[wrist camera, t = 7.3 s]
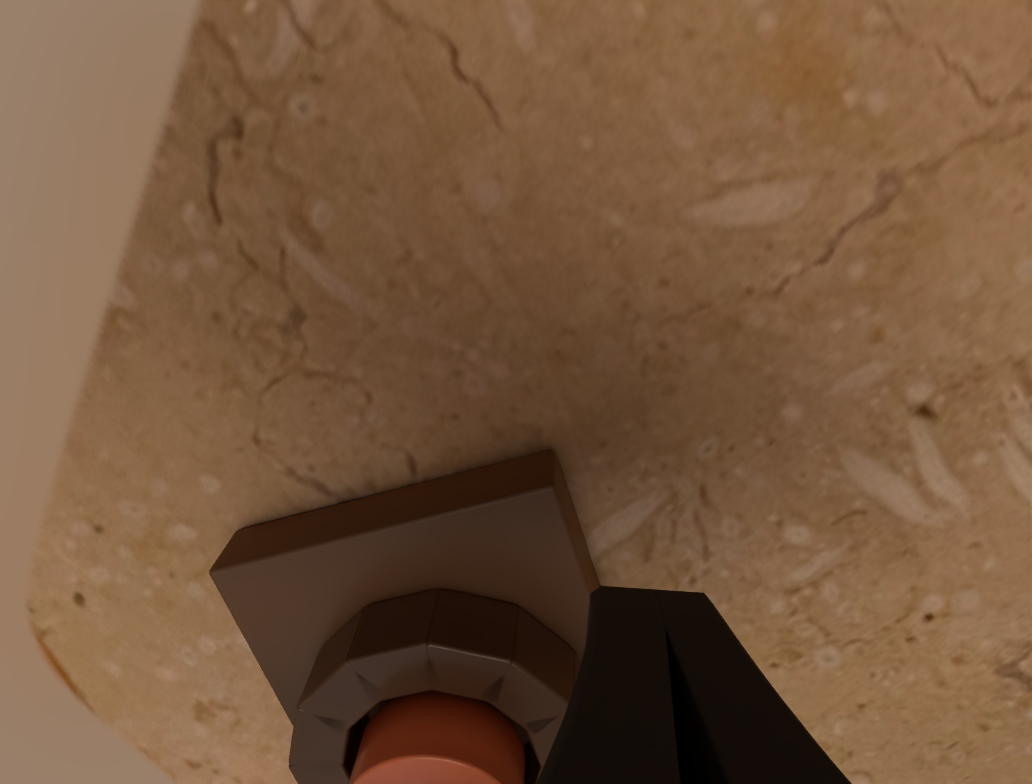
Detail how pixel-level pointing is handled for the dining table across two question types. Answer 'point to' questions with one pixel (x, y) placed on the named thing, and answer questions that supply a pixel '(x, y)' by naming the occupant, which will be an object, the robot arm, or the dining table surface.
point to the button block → (417, 606)
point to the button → (439, 743)
